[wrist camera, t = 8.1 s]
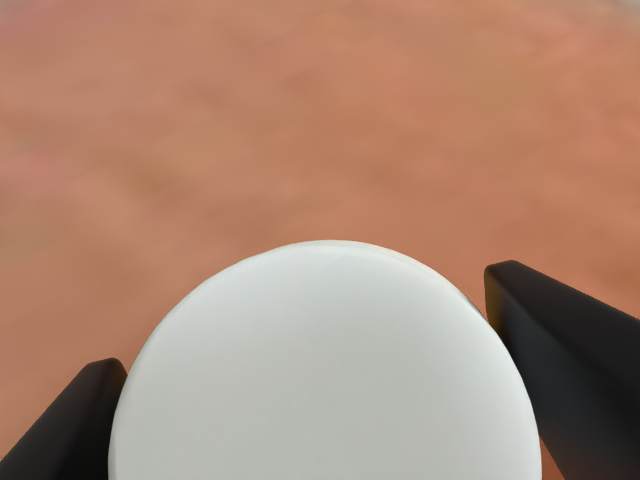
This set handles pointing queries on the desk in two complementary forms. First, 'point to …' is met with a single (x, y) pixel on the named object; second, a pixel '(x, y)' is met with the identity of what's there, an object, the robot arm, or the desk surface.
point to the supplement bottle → (324, 378)
